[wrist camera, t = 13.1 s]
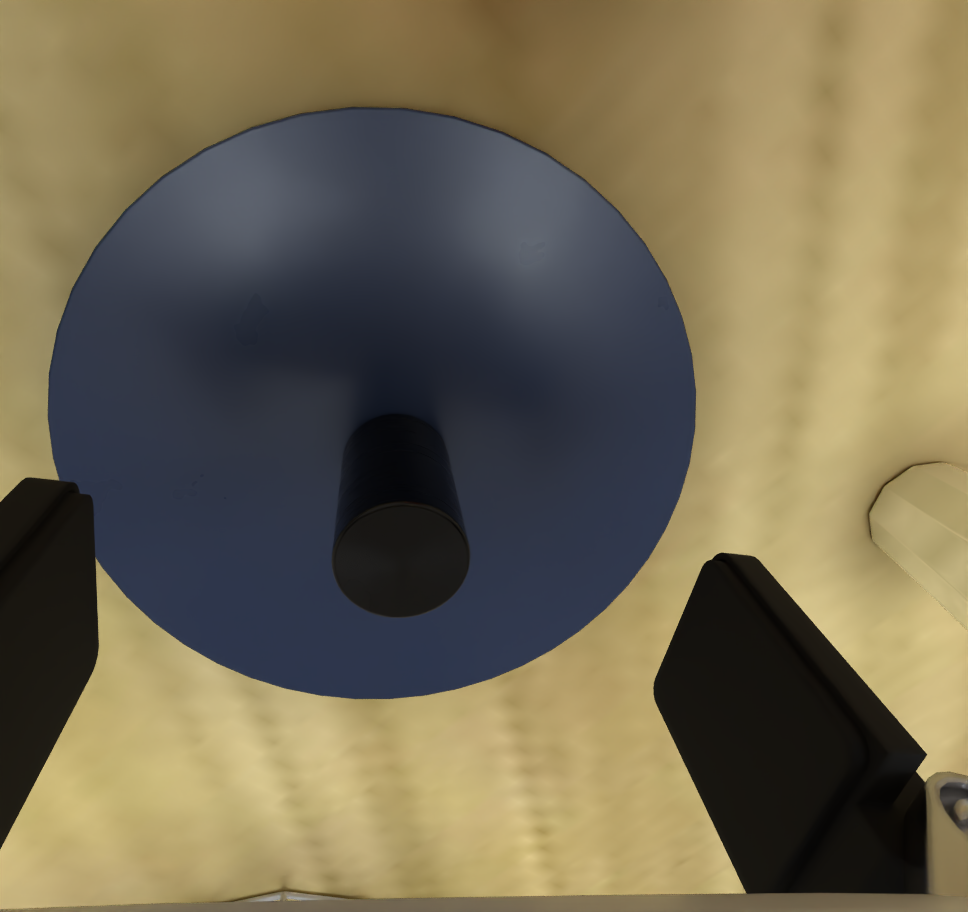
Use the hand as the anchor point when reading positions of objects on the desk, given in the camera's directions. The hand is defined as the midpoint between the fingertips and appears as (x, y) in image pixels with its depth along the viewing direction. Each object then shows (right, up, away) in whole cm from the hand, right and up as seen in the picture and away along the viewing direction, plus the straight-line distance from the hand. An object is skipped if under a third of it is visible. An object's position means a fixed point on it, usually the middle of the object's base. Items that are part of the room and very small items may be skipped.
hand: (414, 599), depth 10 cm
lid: (-1, +2, +7) cm, 7 cm away
